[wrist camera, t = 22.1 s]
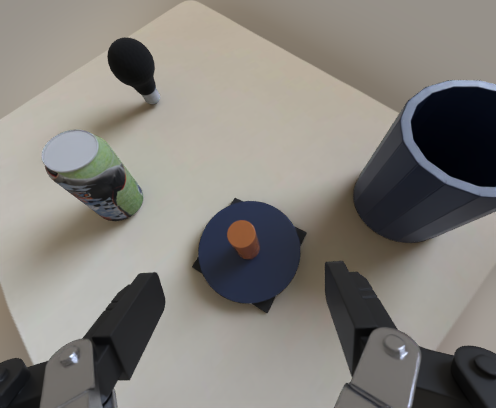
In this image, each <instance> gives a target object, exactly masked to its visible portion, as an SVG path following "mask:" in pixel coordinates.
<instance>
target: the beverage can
mask: <svg viewBox="0 0 496 408" xmlns="http://www.w3.org/2000/svg"><path fill="white" fill-rule="evenodd" d="M42 161H43V163H44V164H45V169H46V172H47V174H48V175H49V177H50V178H51V179H52V180H54V181H55V182H56V183H57V184H59V185H60V186H61V187H63V188H64V189H65V190H67V191H68V192H69V193H71V194H72V195H73V196H75V197H76V198H77V199H79V200H80V201H81V202H83V203H84V204H85V205H87V206H88V207H89V208H91V209H92V210H93V211H95V212H96V213H97V214H99V215H100V216H101V217H103V218H104V219H107V220H110V221H120V220H124V219H127V218H129V217H131V216H132V215H133V214H135V213H136V212H137V211H138V209H139V208H140V206H141V204H142V201H143V193H142V190H141V188H140V187H139V185H138V184H137V183H136V181H135V180H134V179H133V177H132V176H131V174H130V173H129V172H128V170H127V169H126V168H125V166H124V165H123V164H122V162H121V161H120V160H119V158H118V157H117V155H116V154H115V153H114V151H113V150H112V149H111V147H110V146H109V145H108V144H107V142H106V141H105V140H103V139H102V138H100V137H98V136H96V135H93V134H91V133H90V132H87V131H84V130H69V131H65V132H62V133H60V134H58V135H56V136H55V137H53V138H52V139H51V140H50V141H49V142H48V143H47V144H46V145H45V147H44V149H43V151H42Z"/></svg>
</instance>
